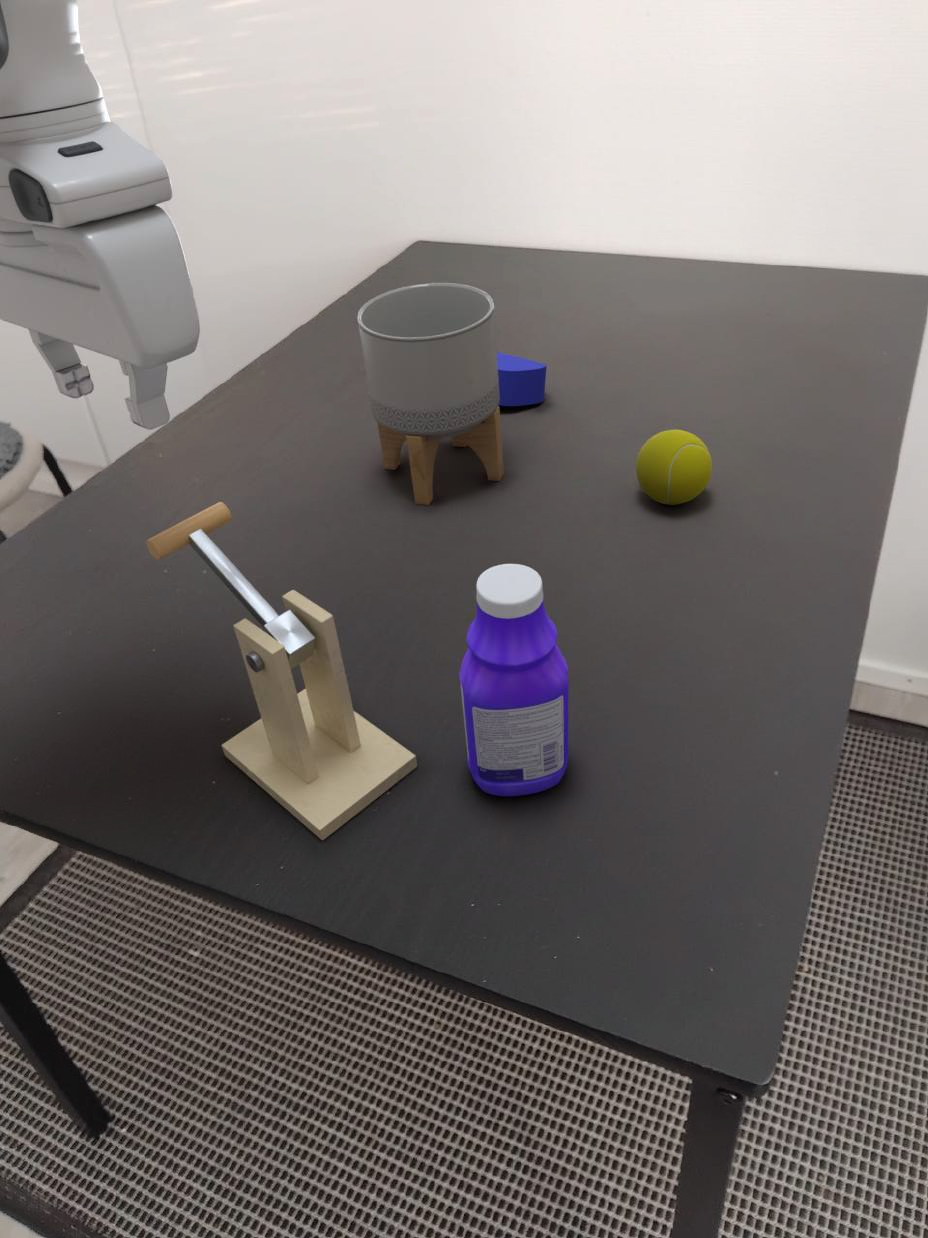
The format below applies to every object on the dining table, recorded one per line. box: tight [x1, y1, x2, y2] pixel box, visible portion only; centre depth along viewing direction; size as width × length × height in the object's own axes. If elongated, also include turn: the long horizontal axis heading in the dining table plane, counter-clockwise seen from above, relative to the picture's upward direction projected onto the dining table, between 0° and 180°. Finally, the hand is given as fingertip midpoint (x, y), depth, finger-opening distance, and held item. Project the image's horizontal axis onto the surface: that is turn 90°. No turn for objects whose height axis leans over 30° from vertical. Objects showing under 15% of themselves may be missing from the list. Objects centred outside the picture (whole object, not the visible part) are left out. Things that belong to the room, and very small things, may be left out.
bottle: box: [458, 563, 570, 797], centre depth 65 cm, size 7×6×17 cm
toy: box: [497, 351, 548, 407], centre depth 114 cm, size 12×6×10 cm
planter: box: [356, 282, 504, 506], centre depth 98 cm, size 13×13×18 cm
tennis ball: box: [635, 429, 713, 506], centre depth 94 cm, size 7×7×7 cm
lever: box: [145, 501, 316, 670], centre depth 67 cm, size 13×6×2 cm, turn 45°
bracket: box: [221, 589, 418, 841], centre depth 69 cm, size 12×9×14 cm
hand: (113, 408), depth 61 cm, fingers open, 8 cm apart
